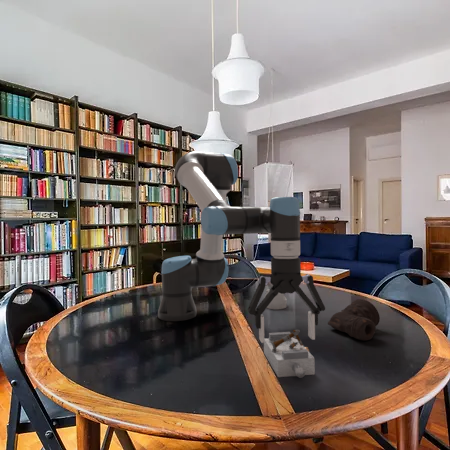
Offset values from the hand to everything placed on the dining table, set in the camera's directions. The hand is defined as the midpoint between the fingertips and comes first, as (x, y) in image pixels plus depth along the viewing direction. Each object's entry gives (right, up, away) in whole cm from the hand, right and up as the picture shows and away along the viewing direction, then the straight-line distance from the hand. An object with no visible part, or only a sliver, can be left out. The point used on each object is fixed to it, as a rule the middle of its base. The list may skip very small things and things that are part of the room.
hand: (286, 339), depth 81 cm
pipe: (+27, -6, +22) cm, 36 cm away
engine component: (+6, -6, +56) cm, 57 cm away
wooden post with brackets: (0, -2, 0) cm, 2 cm away
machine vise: (+1, -6, -1) cm, 6 cm away
